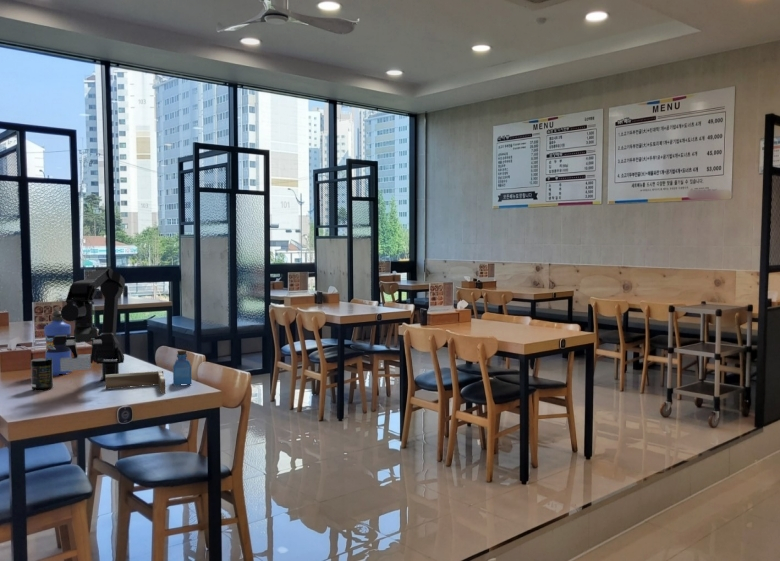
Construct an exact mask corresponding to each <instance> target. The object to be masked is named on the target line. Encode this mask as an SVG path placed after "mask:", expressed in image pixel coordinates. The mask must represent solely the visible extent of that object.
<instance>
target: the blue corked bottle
mask: <svg viewBox="0 0 780 561" xmlns="http://www.w3.org/2000/svg"><path fill="white" fill-rule="evenodd" d="M187 357H188V354H187V350H178V351H177V354H176V358H177V359H176V360H175V361H174V364H173V366H172V374H173V375H172V377H173V379H172V380H173V381H172V382H173V383H172V384H173V385H181V384H192V364H191V362H190V360H189V359H188V358H187Z"/></svg>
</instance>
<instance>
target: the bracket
mask: <svg viewBox="0 0 780 561" xmlns="http://www.w3.org/2000/svg"><path fill="white" fill-rule="evenodd" d="M91 354H92V353H85V354H83V353H81V354H78V357H74V356H71V357H68V358H61V359H60V366H61V371H71V372H72V371H74V372H75V371H83V370H84V371H87V370H91V369H92V363H91Z"/></svg>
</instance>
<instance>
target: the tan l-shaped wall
mask: <svg viewBox="0 0 780 561" xmlns="http://www.w3.org/2000/svg"><path fill="white" fill-rule="evenodd" d="M153 384H158V385H157V386H158V387H160V388H159V390H161V391H160V393H161V394H162V393H164V394H166V378H165V376H164V370H154V371H153V370H152V371H141V372H140V371H139V372H126V373H125V372H122V373H119V374H108V375H105V389H106V390H108V388H111V389H121V387H123V388H131V387H130V386H136V387H143V386H142V385H149V386H154V385H153Z"/></svg>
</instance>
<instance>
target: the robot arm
mask: <svg viewBox="0 0 780 561" xmlns="http://www.w3.org/2000/svg"><path fill="white" fill-rule="evenodd" d="M125 285H126V280H125V278H124V277H123V275H121V273H118V272H116V271H114V270H113V269H112V268H111V267H98V268H96V269H95V271H94V272H92V273H91V274H89V275H88V276H87V277H86V278H85V279H81V280H77V281H74V282H73V283H71V285H70V287H69V290H68V293H67V296H66V299H65V303H66V304H65V305H64V306H63V307H62V308H61V310H60V312H61V316H62V318H63V321H64V320H65V321H66V322H74V329H73V336H70V337H67V335H56V336H55V337H54V338H53V345H63V344H65V343H66V347H69V348H70V350H71V354H72V355H73V357H78V355H79V354H78V350H77V343H83V342H86V343H90V342H92V346H91V353H90V354H91V364H93V363H94V358H95V361H96V364H97V365H98V364H99V365H100V364H101V372H102V374H101V375H102V376H101V378H100V380H101V381H102V382H103V381H105V382H106V380H105V375H108V374H120V369H119V364H123V363H124V361H125V355H124V353H123V351H122V349H121V343H120V342H119V340H118V338H117V325H118V324H117V323H118V320H117V319H118V306H119V304H118V303H119V299H120V297H121V296H122V294H123V293H124V287H125ZM99 287H100V293H101V294H102V296H103V298H104V301H103V316H102V317H103V318H102V332H101V334H100V335H98V326H94V317H93V312H94V311H93V307H94V306H93V305H94V304H95V301H94V298H95V296H96V295H97V294H98V293H97V292H98V291H97V289H98V288H99Z"/></svg>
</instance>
